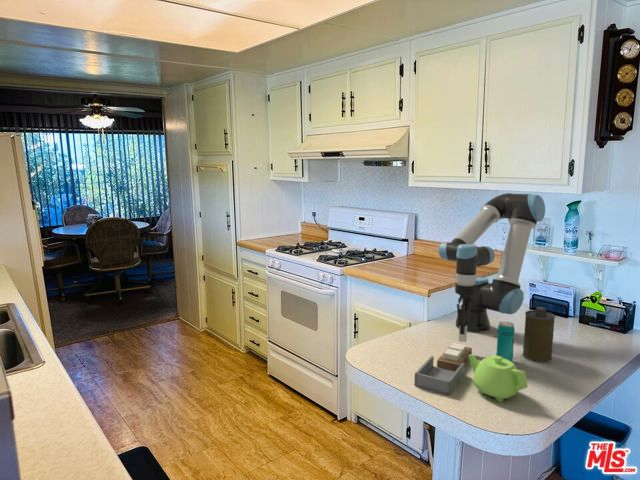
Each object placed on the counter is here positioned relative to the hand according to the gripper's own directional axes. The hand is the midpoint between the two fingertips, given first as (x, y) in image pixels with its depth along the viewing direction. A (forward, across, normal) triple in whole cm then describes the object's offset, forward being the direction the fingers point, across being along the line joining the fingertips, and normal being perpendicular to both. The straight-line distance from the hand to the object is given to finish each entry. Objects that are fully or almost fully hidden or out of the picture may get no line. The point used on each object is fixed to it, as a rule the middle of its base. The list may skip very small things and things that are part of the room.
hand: (462, 340), depth 178 cm
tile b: (+2, +14, 0) cm, 14 cm away
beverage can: (+5, 0, +16) cm, 17 cm away
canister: (+5, -11, +26) cm, 29 cm away
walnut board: (+5, +10, 0) cm, 11 cm away
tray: (+5, +28, 0) cm, 29 cm away
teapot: (+5, +27, +18) cm, 33 cm away
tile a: (+2, +7, 0) cm, 7 cm away
